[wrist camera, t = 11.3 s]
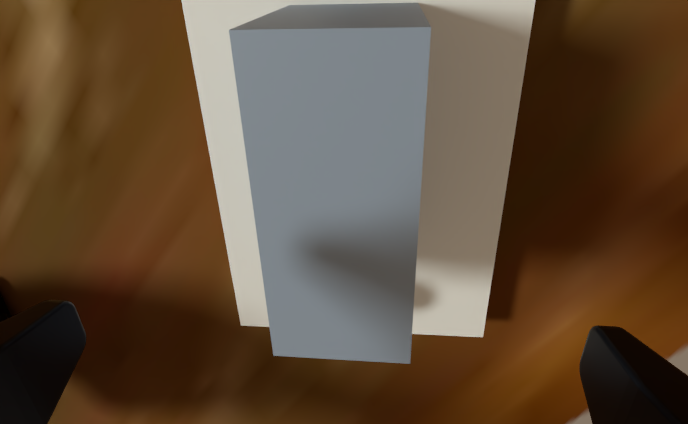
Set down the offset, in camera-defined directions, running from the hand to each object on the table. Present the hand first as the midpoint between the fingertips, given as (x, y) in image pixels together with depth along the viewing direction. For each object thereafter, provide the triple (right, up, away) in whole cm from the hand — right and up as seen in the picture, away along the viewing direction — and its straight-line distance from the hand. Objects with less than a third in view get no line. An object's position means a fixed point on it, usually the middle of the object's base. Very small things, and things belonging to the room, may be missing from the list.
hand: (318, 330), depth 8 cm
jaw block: (+1, +5, +8) cm, 10 cm away
